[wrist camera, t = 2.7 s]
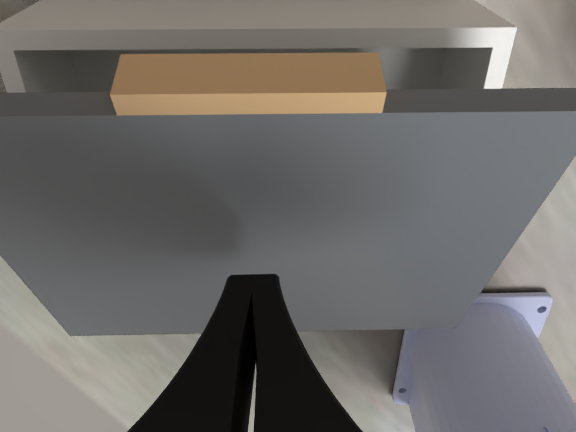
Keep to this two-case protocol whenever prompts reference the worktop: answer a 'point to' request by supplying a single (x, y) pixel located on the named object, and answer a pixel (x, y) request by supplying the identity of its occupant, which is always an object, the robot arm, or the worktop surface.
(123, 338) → the worktop surface
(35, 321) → the worktop surface
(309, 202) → the lid
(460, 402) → the robot arm
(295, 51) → the storage box
